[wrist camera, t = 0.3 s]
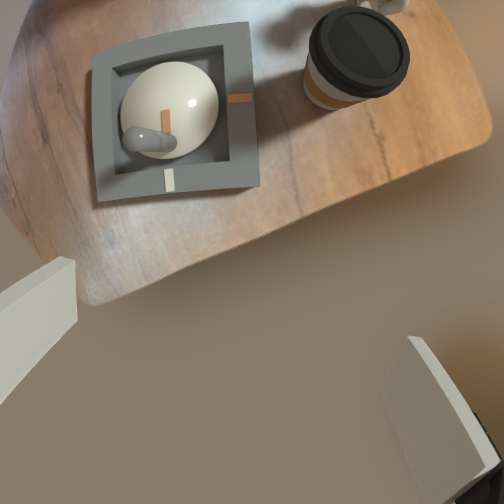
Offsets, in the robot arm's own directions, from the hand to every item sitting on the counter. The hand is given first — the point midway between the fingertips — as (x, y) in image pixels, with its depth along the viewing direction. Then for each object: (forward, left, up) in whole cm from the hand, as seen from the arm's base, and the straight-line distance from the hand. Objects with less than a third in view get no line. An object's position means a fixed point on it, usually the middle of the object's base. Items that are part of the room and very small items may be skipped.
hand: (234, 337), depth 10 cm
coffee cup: (-15, +9, -27) cm, 32 cm away
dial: (-13, -10, -26) cm, 30 cm away
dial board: (-13, -10, -27) cm, 31 cm away
